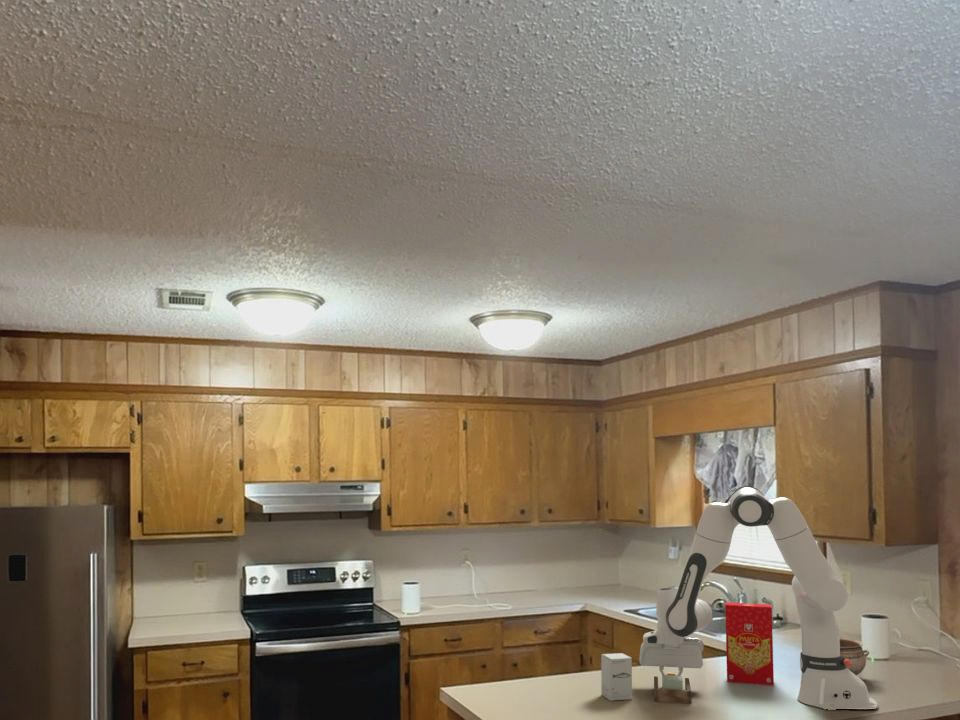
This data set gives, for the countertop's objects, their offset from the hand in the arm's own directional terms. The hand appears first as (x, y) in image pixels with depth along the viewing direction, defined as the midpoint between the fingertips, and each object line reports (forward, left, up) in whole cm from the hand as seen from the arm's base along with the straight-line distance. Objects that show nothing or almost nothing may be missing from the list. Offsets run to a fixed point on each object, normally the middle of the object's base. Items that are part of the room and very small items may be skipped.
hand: (671, 680), depth 287 cm
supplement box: (+17, +16, -2) cm, 23 cm away
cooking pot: (-55, -22, -2) cm, 59 cm away
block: (0, +7, -2) cm, 8 cm away
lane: (0, +10, -2) cm, 10 cm away
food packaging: (-26, -12, -2) cm, 29 cm away
